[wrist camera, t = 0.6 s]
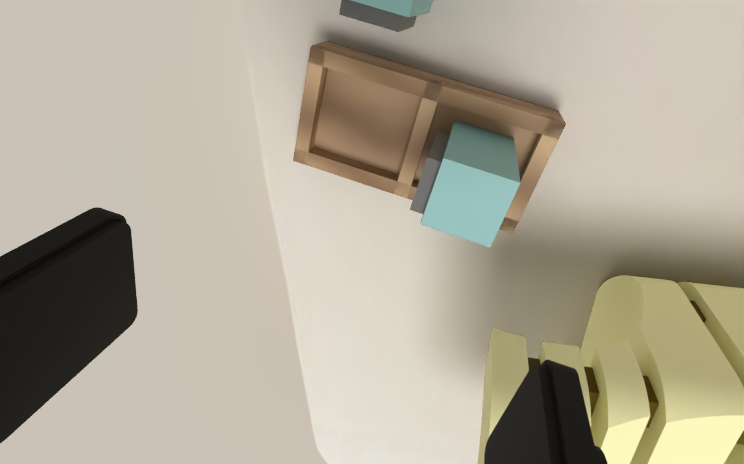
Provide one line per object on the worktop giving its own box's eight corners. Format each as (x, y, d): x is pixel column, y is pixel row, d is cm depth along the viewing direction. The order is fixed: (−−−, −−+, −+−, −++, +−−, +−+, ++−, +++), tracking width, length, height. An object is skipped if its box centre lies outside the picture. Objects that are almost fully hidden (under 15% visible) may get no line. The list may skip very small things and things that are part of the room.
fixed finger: (443, 115, 29) (428, 153, 22) (513, 137, 28) (520, 183, 21) (425, 170, 31) (406, 219, 24) (490, 191, 30) (490, 247, 24)
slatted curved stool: (971, 291, 28) (1541, 644, 13) (846, 449, 36) (1110, 788, 20) (492, 242, 34) (491, 437, 19) (472, 384, 42) (462, 605, 27)
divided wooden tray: (327, 41, 30) (310, 46, 27) (558, 111, 29) (565, 123, 26) (309, 147, 34) (293, 160, 32) (511, 213, 33) (512, 233, 30)
